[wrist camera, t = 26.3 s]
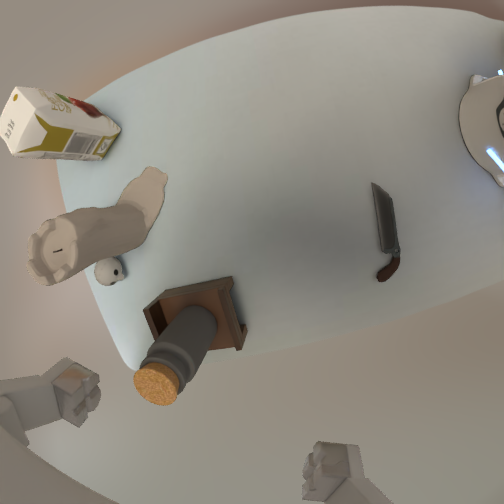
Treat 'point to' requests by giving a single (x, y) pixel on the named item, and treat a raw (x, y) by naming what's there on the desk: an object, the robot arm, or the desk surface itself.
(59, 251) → the candle
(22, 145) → the juice carton
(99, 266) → the figurine
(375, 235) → the desk surface
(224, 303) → the wooden u-shaped stand
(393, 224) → the knife
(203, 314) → the bottle
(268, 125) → the desk surface
